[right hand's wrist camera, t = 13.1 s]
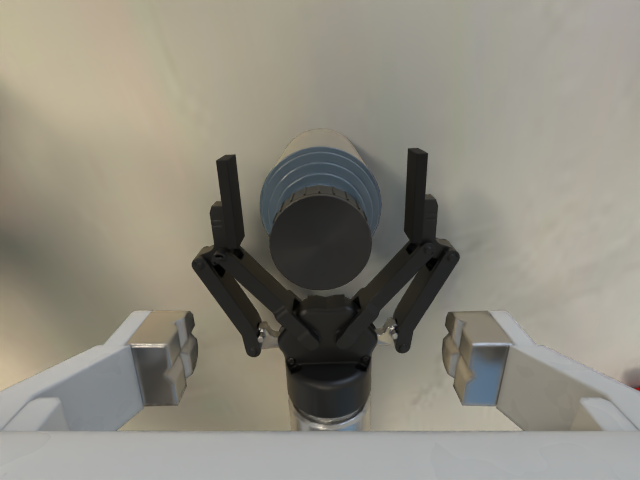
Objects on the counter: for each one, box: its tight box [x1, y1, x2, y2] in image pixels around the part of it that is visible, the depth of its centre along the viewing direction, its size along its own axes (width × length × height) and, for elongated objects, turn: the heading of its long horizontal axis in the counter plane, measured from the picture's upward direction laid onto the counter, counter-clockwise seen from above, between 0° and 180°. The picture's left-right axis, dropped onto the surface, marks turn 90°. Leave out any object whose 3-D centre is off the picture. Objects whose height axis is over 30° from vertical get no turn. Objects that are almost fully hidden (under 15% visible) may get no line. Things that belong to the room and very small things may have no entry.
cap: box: [269, 184, 372, 290], centre depth 17 cm, size 5×5×2 cm
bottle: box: [260, 129, 381, 237], centre depth 25 cm, size 7×7×18 cm
